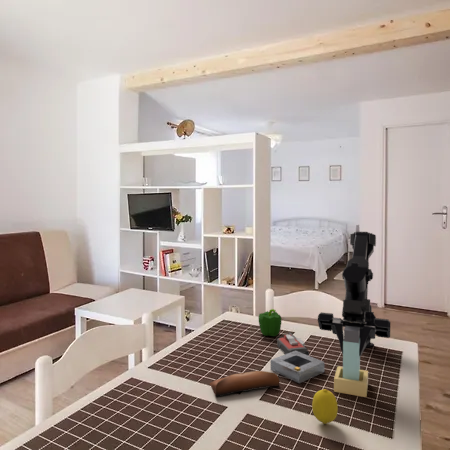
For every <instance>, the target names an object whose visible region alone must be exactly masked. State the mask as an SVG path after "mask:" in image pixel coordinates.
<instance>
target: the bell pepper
mask: <svg viewBox="0 0 450 450" xmlns="http://www.w3.org/2000/svg"><path fill="white" fill-rule="evenodd" d="M258 325H259V329H260V332H261V334H262V335H263V336H265V337H266V336H267V337H268V336H271V337H276V336H278V335H279V334H280V332H281V331H280V330H281V328H282V317H281V315H280V314H279V313H278V312H277V311H276V309H273V308H271V309H270V310H269V311H268V310H267V311H265V312H261V313H260V312H259V314H258Z"/></svg>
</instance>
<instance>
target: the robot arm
mask: <svg viewBox="0 0 450 450" xmlns="http://www.w3.org/2000/svg"><path fill="white" fill-rule="evenodd" d="M349 238H350V240H349V242H350V243H349V244H350V246H351V247H352V250H353V251H352V258H350V259H349V260H348V261H347V262H346V267H344V268H343V272H342V274H341V276H342V280H343V283H344V289H345V296H344V299H343V300H342V311H341V318H340V317H335V316H334V313H330V312H319V313H318V315H317V323H318V328H319V329H320V330H321V331H327V332H332V334H334V335H336V338H337V340H338V342H339V346H340V347H339V348H340V351H341V354H342V355H343V340H344V328H345V326H351V327H360V335H359V338H360V348H359V356H360V357H361V356H362V355H363V353H364V351H365V349H366V348H370V347H373V346H375V343H373V342H371V340H372V339H373V340H374V339H376V337H377V338H386V339H389V338H391V321H390V320H389V319H387V318H379V317H378V318H377V317H376V315H375V312H374V311H373V308H372V305H371V299H368V296H369V295H368V292H369V291H368V290H369V286H368V285H369V282H371V281H372V280H373V278H374V272H372V269H371V268H370V261H369V260H370V258H371V256H372V255H373V253H374V248H375V247H376V246H377V235H376V234H374V233H373V232H368V231H355V232H353V233H350V237H349Z"/></svg>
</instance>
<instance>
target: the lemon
mask: <svg viewBox="0 0 450 450" xmlns="http://www.w3.org/2000/svg"><path fill="white" fill-rule="evenodd" d="M311 403H312V405H311V410H312V412H313V415H314V418H315V419H317V420H318V421H319V422H320V423H322V424H323V425H326V424H330V423H332V422H333V421H334V420H336V418H337V416H338V412H339V411H338V409H339V408H338V407H339V406H338V401H337V398H336V396H335V394H333V392H331V391H330V390H328V389H326V388H323V389H321V390H320V389H319V390H318V391H317V392H315V393H314V395H313V398H312V402H311Z"/></svg>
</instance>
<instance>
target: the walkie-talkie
mask: <svg viewBox="0 0 450 450" xmlns="http://www.w3.org/2000/svg"><path fill="white" fill-rule="evenodd" d="M276 341H277V342H276V344H277V347H278V348H279V349H280V351H282V352H283V354H284V355H285V354H288V353H290V352H293V351H298V352H300V353H303V354H306V355H308V356H310V352H309V351H308V349H307V347H306V346H305V341H304V340H302V338H301V337H296V336H295V335H294V334H293V333H292V332H290V331H289V332H288V333H287V334H284V335H283V337H278V338H276Z"/></svg>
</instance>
